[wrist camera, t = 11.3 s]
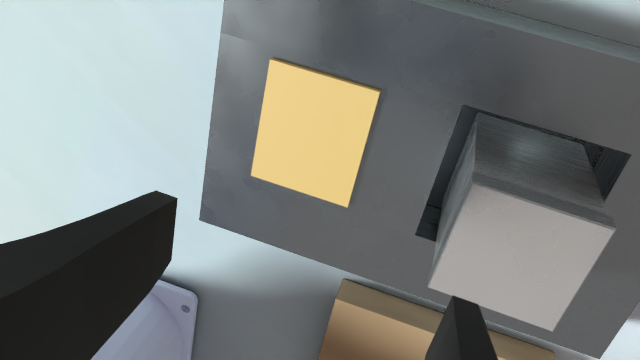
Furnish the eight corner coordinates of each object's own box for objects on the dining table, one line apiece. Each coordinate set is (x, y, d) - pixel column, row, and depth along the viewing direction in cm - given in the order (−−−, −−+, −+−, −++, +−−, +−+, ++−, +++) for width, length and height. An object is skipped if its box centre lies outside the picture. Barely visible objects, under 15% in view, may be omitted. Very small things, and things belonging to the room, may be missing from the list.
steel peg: (538, 231, 22) (552, 332, 17) (441, 198, 23) (426, 288, 18) (584, 143, 20) (617, 229, 15) (476, 110, 21) (471, 182, 16)
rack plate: (589, 316, 23) (600, 363, 21) (223, 192, 26) (196, 222, 23) (742, 75, 18) (779, 103, 16) (257, -56, 20) (227, -49, 18)
